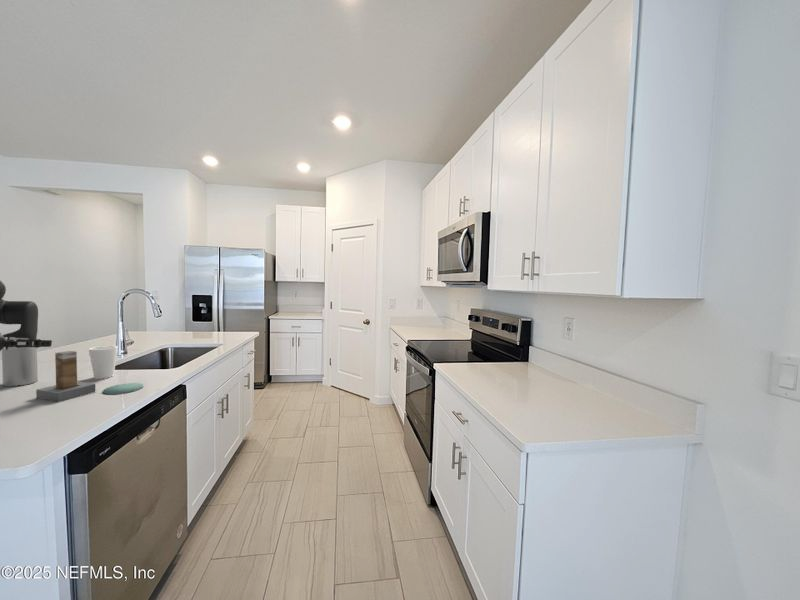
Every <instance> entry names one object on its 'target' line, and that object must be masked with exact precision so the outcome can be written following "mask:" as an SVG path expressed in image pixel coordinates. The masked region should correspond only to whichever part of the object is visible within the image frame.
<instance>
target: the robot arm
mask: <svg viewBox="0 0 800 600" xmlns="http://www.w3.org/2000/svg"><path fill="white" fill-rule="evenodd" d="M6 290H7V289H6V285H5V284H4V282H3V281H2V280H0V324H1V325H20V327H19V328H18V329H17V330H14V331H12V332H7V333H5V334H2V332H0V352H1V363H2V364H1V366H2V367H1V368H2V371H1V372H2V386H3V385H4V386H3V387H18V385H20V386H26V385H30V384H34V383H37V382H38V381H39V377H38V376H39V374H38V348H49V347H50V348H51V347H52V342H53V340H49V339H47V340H46V339H40V338H38V337H37V335H38V331H39V330H38V329H39V328H38V327H39V326H38V324H39V322H38V321H39V308H38V305H37V303H35V302H34V301H29V300H27V301H26V300H25V301H23V300H22V301H21V300H19V301H18V300H17V301H16V300H4V299H3V298H4V296H5V294H6Z"/></svg>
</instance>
